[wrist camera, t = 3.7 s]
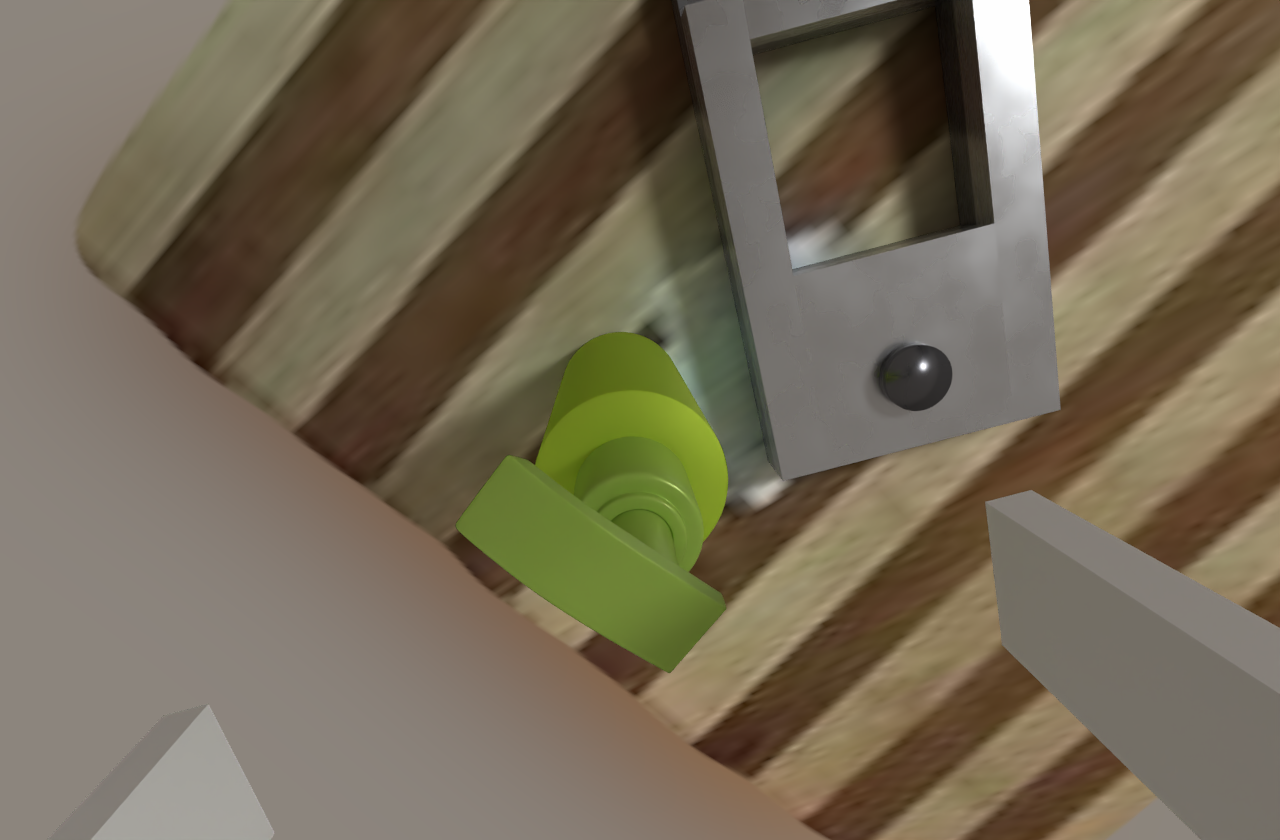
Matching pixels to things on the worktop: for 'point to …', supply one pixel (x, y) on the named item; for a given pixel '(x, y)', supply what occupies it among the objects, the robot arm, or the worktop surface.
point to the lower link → (953, 101)
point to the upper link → (885, 256)
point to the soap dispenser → (614, 502)
